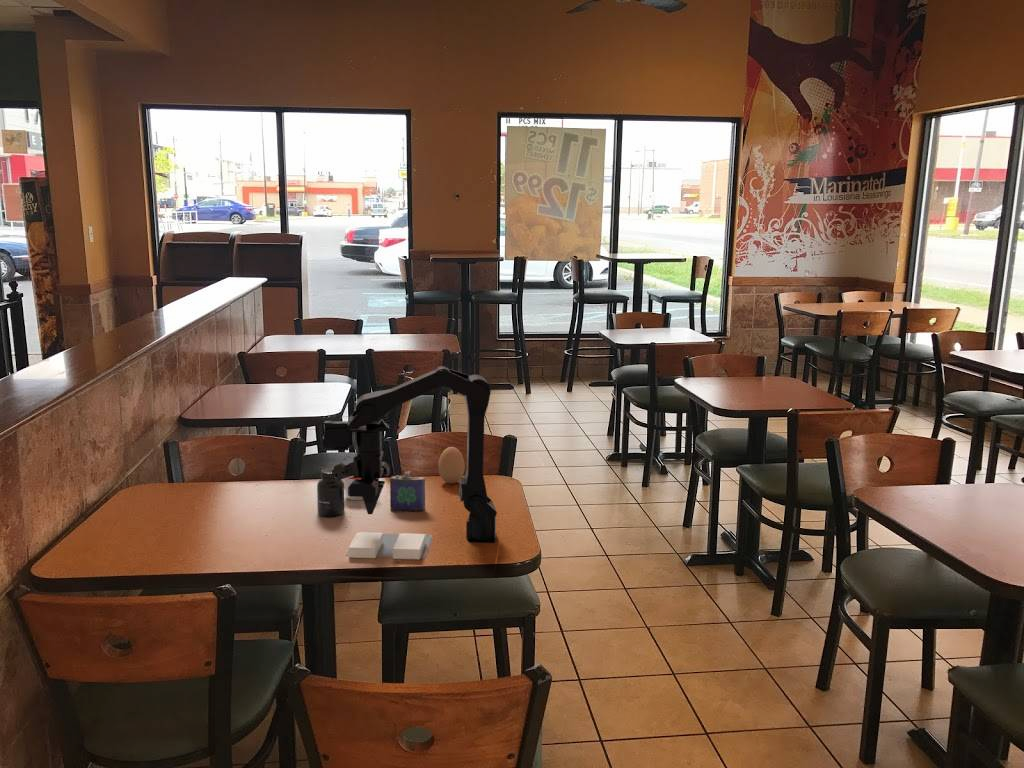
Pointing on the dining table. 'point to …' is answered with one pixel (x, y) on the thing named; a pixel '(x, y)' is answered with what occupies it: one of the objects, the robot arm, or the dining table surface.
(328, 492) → the supplement bottle
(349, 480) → the candle
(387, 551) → the mat
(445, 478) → the egg
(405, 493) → the flask
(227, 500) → the dining table surface
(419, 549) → the tile
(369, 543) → the tile
